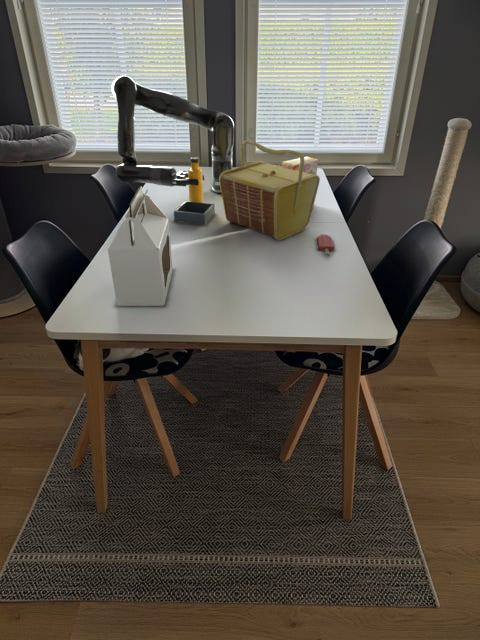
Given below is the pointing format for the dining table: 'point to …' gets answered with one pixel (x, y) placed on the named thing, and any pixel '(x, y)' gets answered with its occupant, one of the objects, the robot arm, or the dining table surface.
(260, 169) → the picnic basket
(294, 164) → the coffeecake box
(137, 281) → the gable box
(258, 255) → the dining table surface
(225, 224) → the dining table surface
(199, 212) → the tub
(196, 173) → the bottle
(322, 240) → the popsicle
